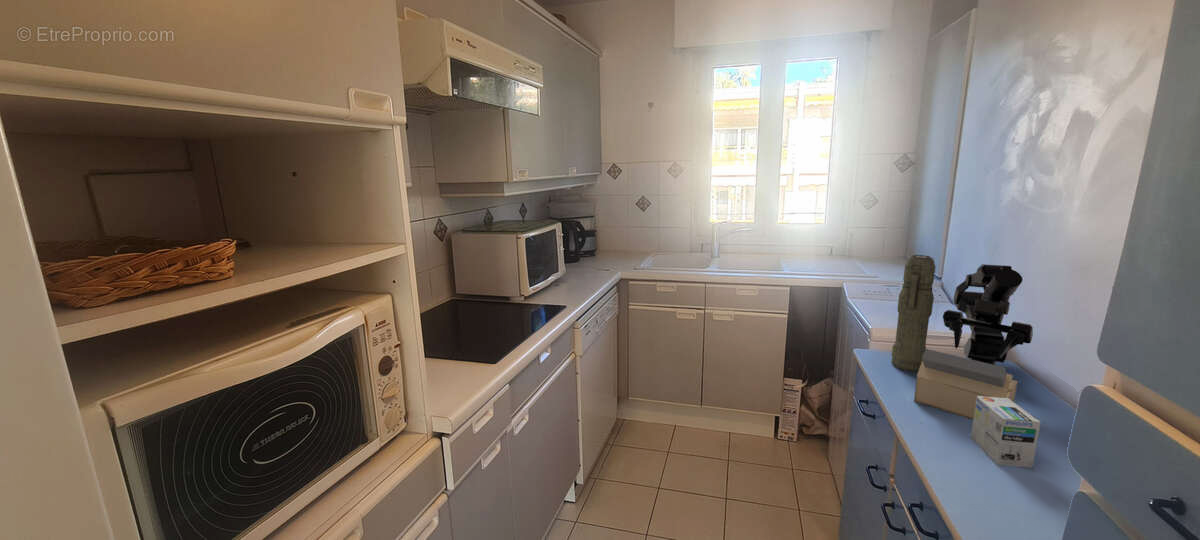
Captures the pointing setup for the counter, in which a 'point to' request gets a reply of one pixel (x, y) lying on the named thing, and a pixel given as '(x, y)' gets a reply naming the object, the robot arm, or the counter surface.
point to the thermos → (914, 313)
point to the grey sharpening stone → (965, 374)
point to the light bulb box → (1005, 431)
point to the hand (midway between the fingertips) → (976, 352)
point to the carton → (951, 397)
